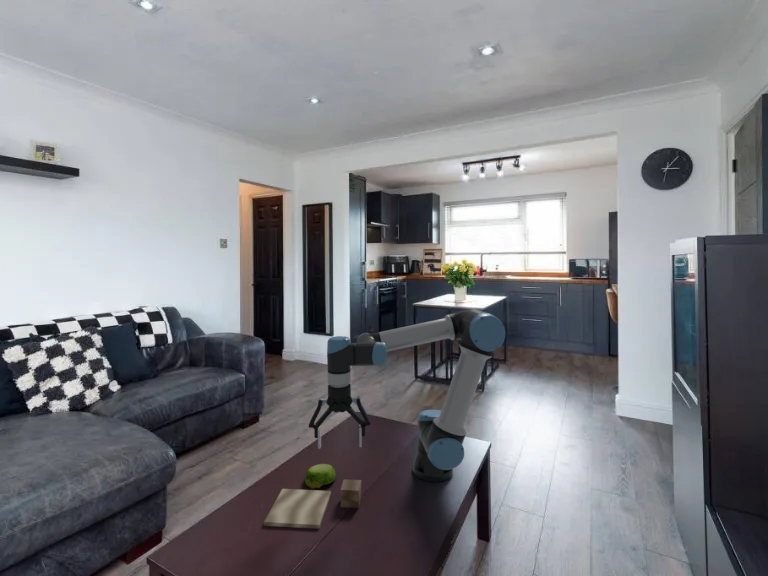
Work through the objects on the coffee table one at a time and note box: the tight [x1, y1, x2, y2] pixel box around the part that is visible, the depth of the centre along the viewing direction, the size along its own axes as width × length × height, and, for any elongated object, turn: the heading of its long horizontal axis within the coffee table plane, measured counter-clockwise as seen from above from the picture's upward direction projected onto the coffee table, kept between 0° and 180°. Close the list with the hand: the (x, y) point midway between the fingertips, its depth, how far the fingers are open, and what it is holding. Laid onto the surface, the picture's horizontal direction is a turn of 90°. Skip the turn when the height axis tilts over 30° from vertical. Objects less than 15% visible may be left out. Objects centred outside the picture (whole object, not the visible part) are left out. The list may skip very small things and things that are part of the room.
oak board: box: [263, 488, 332, 530], centre depth 125 cm, size 17×17×1 cm
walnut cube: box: [340, 479, 362, 509], centre depth 129 cm, size 6×6×6 cm
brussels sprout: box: [304, 463, 337, 490], centre depth 142 cm, size 12×11×5 cm
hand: (340, 446), depth 130 cm, fingers open, 13 cm apart
